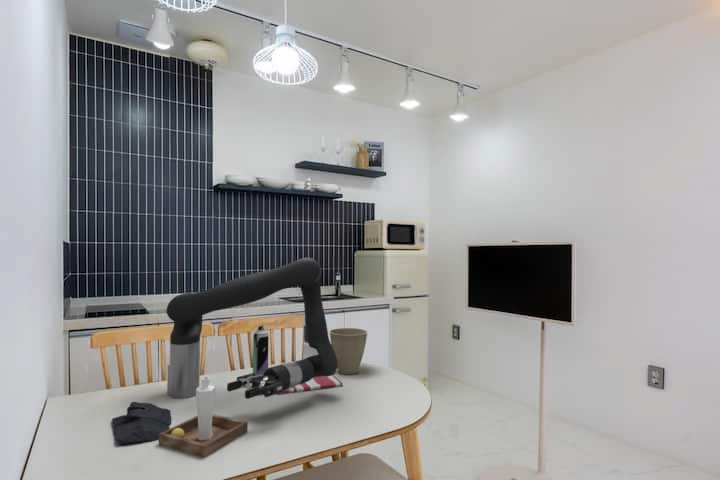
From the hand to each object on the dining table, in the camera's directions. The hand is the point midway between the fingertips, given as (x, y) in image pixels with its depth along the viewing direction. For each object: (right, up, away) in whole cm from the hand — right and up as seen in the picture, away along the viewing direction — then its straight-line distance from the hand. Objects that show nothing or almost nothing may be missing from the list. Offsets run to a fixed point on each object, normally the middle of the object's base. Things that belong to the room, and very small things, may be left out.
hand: (236, 391), depth 114 cm
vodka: (+14, -11, +58) cm, 61 cm away
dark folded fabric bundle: (-25, -10, -1) cm, 27 cm away
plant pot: (+29, -11, +52) cm, 60 cm away
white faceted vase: (-6, -9, -7) cm, 13 cm away
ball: (-12, -9, -9) cm, 18 cm away
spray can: (-3, -11, +40) cm, 41 cm away
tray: (-6, -10, -7) cm, 14 cm away
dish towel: (+14, -11, +38) cm, 42 cm away
